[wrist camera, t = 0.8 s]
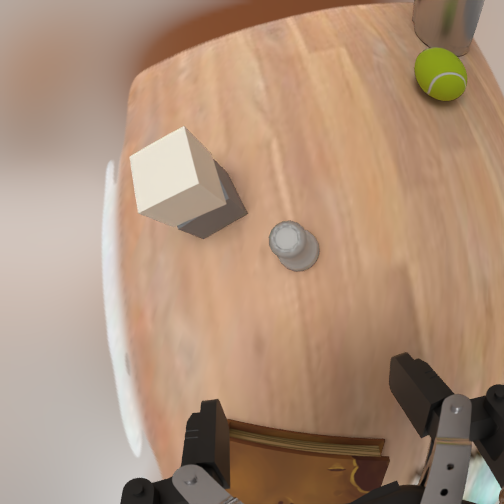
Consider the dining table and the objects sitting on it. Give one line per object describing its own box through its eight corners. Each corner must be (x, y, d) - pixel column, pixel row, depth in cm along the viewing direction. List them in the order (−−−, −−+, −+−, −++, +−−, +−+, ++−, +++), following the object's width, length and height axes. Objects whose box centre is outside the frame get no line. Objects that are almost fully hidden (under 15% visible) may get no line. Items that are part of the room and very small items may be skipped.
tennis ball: (404, 70, 31) (410, 35, 24) (448, 72, 29) (459, 39, 22) (419, 110, 30) (430, 76, 23) (465, 112, 28) (482, 81, 21)
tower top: (162, 177, 31) (129, 156, 25) (211, 153, 30) (184, 126, 24) (173, 227, 30) (138, 213, 24) (226, 204, 29) (198, 183, 23)
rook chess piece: (302, 221, 32) (290, 200, 25) (328, 254, 31) (324, 241, 23) (270, 247, 33) (248, 233, 25) (294, 280, 32) (280, 276, 24)
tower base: (186, 197, 37) (160, 182, 31) (227, 172, 36) (206, 152, 30) (203, 239, 35) (178, 229, 30) (247, 213, 34) (229, 198, 29)
